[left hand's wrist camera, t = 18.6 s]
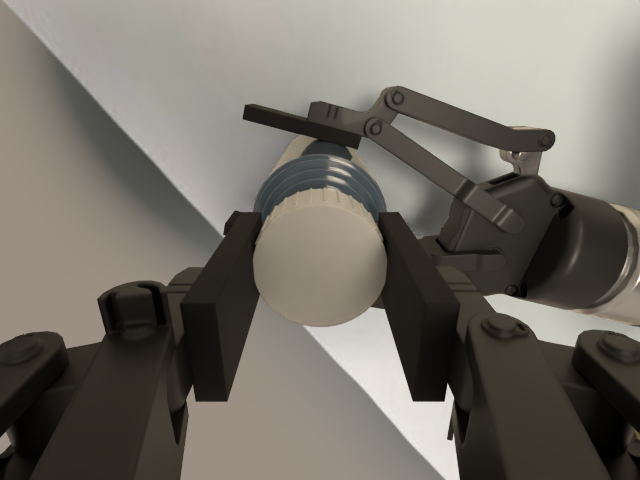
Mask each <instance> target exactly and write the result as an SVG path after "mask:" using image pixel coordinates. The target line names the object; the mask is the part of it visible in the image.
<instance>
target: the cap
mask: <svg viewBox="0 0 640 480" xmlns="http://www.w3.org/2000/svg"><path fill="white" fill-rule="evenodd" d="M382 241H384V240H383V237H382V235H381V233H380V231H379V228H378V226H377V224H376V223H375V222H374V219H373V217H372V215H371V213H370V212H369V213H368V211H367V210H366V209H365V208H364V206H363V204H362V203H359V202H358V201H356V200H355V199H353V198H352V196H351V195H350V196H348V195H346V194H344V193H341V192H340V191H339V190H337V191H335V190H330V189H326V188H324V189H312V188H310V190H305V191H302V192H299V191H298V192H297V193H296V194H294V195H292V196H290V197H288V198H287V197H286V198H285V199H284V201H282V202H281V203H280V204H279V205H278V206H275V207H274V210H273V211H272V213H271V214H270V216H267V218H266V220H265V223H264V225H263V227H262V229H261V231H260V233H259V236H258V238H257V240H256V243H255V245H256V247H255V251H254V254H253V267H254V280H255V284H256V287H257V289H258V291H259V293H260V295H261V296H262V298H263V299H264V301H265V302H266V303H267V304H268V305H269V306H270V307H271V308H272V309H273V310H274V311H275V312H276V313H278V314H279V315H281V316H282V317H284V318H286V319H288V320H290V321H292V322H295V323H298V324H301V325H306V326H312V327H328V326H334V325H339V324H342V323H345V322H348V321H350V320H352V319H354V318H356V317H358V316H359V315H361V314H362V313H364V312H365V311H366V310H367V309H368V308H369V307H371V306H372V304H373V303H374V302H375V301H376V300H377V298H378V296H379V295H380V293H381V291H382V289H383V287H384V284H385V281H386V270H387V254H386V250H385V247H384V244H383V242H382Z"/></svg>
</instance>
